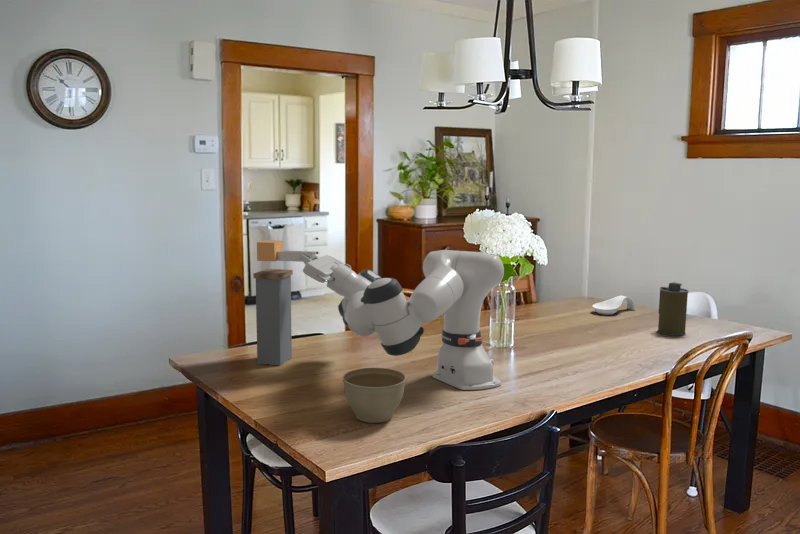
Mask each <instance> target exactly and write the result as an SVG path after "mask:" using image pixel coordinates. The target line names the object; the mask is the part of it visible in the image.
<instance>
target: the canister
mask: <svg viewBox="0 0 800 534" xmlns="http://www.w3.org/2000/svg"><path fill="white" fill-rule="evenodd" d="M682 285H683V283H679V282H669V283H668V286H661V287H660V288H659V304H658V314H659V315H658V326H657V327H658V328H657V332H658V333H659V334H662V335H665V336H677V337H678V336H684V335H686V333H687V332H686V325H687V309H688V297H689V296H688V295H689V294H688V293H689V289H686V288H681V286H682Z"/></svg>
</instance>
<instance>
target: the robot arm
mask: <svg viewBox="0 0 800 534" xmlns="http://www.w3.org/2000/svg"><path fill="white" fill-rule="evenodd" d="M315 257H316V259H315V260H311V259H309V258H308V257H307V256H306V255H304V254H301V255H300V256H299V259H300V260H301V261H303V264H304V267H303V269H302V272H303V273H304V275H306V276H308V277H310V278H311V279H314V281H317V282H319V283H322V284H324V283H326V282H327V283H326V287H327V288H329V289H330V290H331V291H332V292H334V293H336V294H337V295H339V296H343V298H342V299H341V301H340V302H339V304H338V305H337V309H338V313H339V315H340V316H341V318H342V322H343V324H344V325H345V326H346V327H347V328H348V329H349V330H350V331H351V332H352V333H353V334H354V335H356V336H359V337H369V336H371V335H373V334H375V333H376V334H377V337H378V339H379V341H380V344H381V347H382V348H383V350H384V351H385V352H386V354H387V355H389V356H394V357H398V356H402V355H406V354H408V353H410V352H412V351H413V350H414V349H415V348H416V347H417V346H418V344H419V343H420V340H421V337H422V336H423V335H424V332H425V329H424V327H422V325H423V324H427V323H431V322H433V321H435V320H437V319H439V318H441V317H442V316H443V329H442V330H441V342H442V344H441V346H440V348H439V349H438V353H437V361H436V371H435V372H433V373H432V378H434V379H435V380H438V381H440V382H443V383H445V384H447V385H450V386H452V387H454V388H456V389H459V390H463V391H476V390H477V391H478V390H486V389H493V388H496V387H500V386H501V385H502V381H501V380H500V379H499V378H498V376H496V375H495V374H494V364H495V361H494V359H493V358H490V357H489V355H488V353H487V352H486V350H485V349H484V346H483V341H484V340H483V338H484V337H482V332H481V330H480V321H481V310H482V305H483V303H484V301H485V298H486V297H487V295H488V294H490V292H491V291H492V290H493V289H495V288H496V287H498V286H499V285H500V284H501V282H502V281H503V279H504V274H505V267H504V264H503V263H504V262H503V261H502V259H501V258H500V257H499V256H498V255H495V254H491V253H487V252H484V251H483V252H481V251H471V250H470V251H469V250H468V251H467V250H452V249H450V250H449V249H440V250H434V251H430V252H429V253H427V254H426V256H425V258H424V259H423V263H422V272H423V275H424V277H425V278H424V279H423V280H421V282H420V283H418V285H417V286H416V287H415V288H414V290H413V292H412V293H411V295H410V297H408V298H409V299H407V298H406V296H405V294H404V292H403V287H402V286H401V284H400V282H399V281H398V280H397V279H396V278H394V277H383V278H382V276H381V275H379V274H378V273H376V272H375V271H373V270H372V269H370V268H369V269H363V270H361V271H359V273H357V272H355V271H354V270H352V266H351V265H350V264H349V263H344V262H342V261H340V260H339V259H337V258H335V257H333V256H331V255H328V254H325V255H323V256H321V257H319V256H317V255H315Z"/></svg>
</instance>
